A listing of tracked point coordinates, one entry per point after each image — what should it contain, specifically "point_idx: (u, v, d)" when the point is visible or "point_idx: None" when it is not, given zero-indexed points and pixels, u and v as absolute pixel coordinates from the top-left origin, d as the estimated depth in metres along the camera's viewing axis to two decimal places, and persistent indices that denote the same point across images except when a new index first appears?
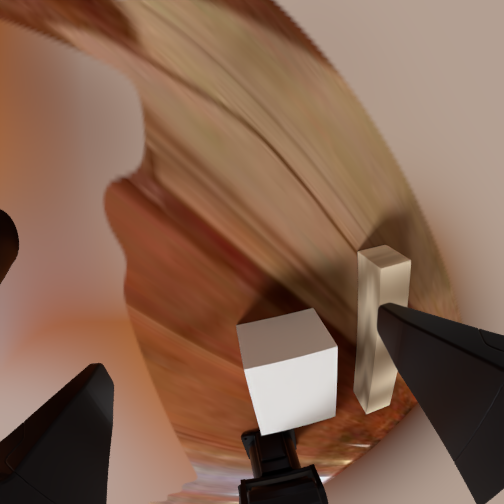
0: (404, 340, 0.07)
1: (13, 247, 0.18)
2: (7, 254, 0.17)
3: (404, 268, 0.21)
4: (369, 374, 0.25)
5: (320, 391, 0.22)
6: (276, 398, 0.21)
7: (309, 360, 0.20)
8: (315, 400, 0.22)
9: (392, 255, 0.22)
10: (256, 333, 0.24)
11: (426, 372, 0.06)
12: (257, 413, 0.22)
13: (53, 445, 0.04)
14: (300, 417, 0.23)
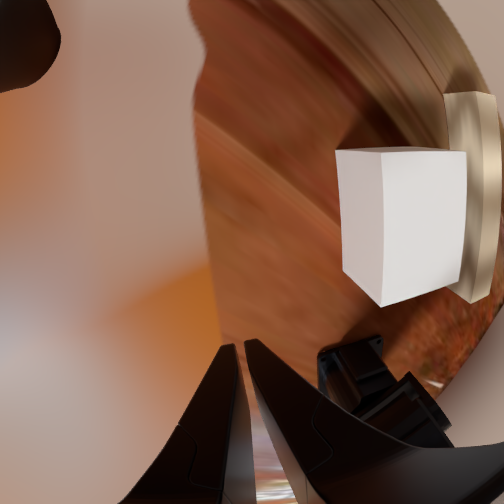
0: (253, 385, 0.07)
1: (54, 44, 0.12)
2: (49, 37, 0.11)
3: (492, 101, 0.15)
4: (476, 237, 0.19)
5: (451, 222, 0.15)
6: (410, 222, 0.15)
7: (444, 162, 0.14)
8: (446, 239, 0.16)
9: None
10: (368, 149, 0.17)
11: (269, 427, 0.06)
12: (385, 251, 0.15)
13: None
14: (428, 272, 0.16)
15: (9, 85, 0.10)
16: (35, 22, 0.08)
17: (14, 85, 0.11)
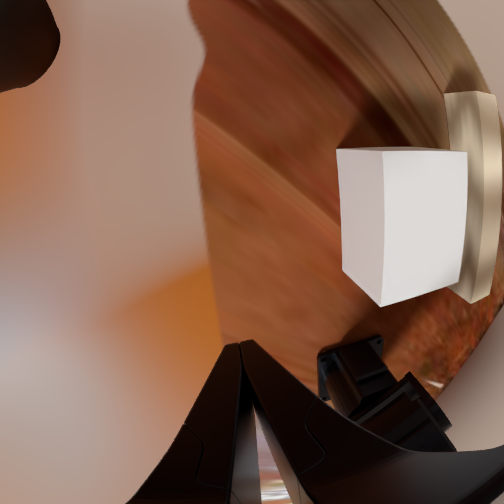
0: (249, 386, 0.07)
1: (53, 44, 0.12)
2: (48, 37, 0.11)
3: (492, 101, 0.15)
4: (476, 237, 0.19)
5: (452, 222, 0.15)
6: (411, 222, 0.15)
7: (445, 161, 0.14)
8: (447, 240, 0.16)
9: None
10: (369, 148, 0.17)
11: (263, 428, 0.06)
12: (386, 251, 0.15)
13: None
14: (428, 272, 0.16)
15: (8, 85, 0.10)
16: (34, 21, 0.08)
17: (13, 85, 0.11)
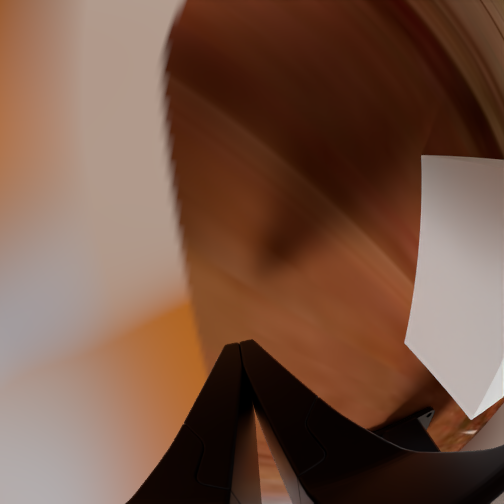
0: (248, 386, 0.07)
1: None
2: None
3: None
4: None
5: None
6: None
7: None
8: None
9: None
10: (476, 160, 0.08)
11: (263, 428, 0.06)
12: None
13: None
14: None
15: None
16: None
17: None
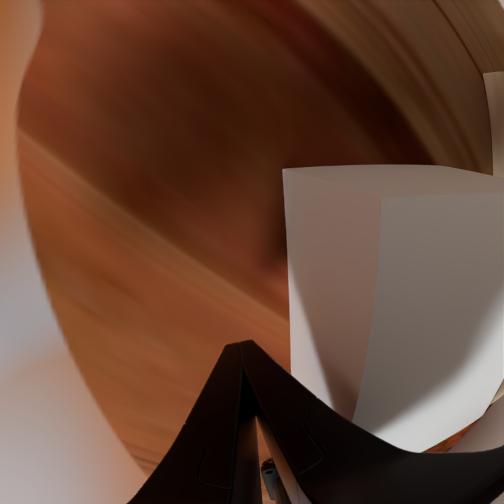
0: (248, 387, 0.07)
1: None
2: None
3: None
4: None
5: None
6: (428, 371, 0.05)
7: None
8: (487, 372, 0.06)
9: None
10: (351, 170, 0.08)
11: (262, 428, 0.06)
12: None
13: None
14: (438, 428, 0.07)
15: None
16: None
17: None
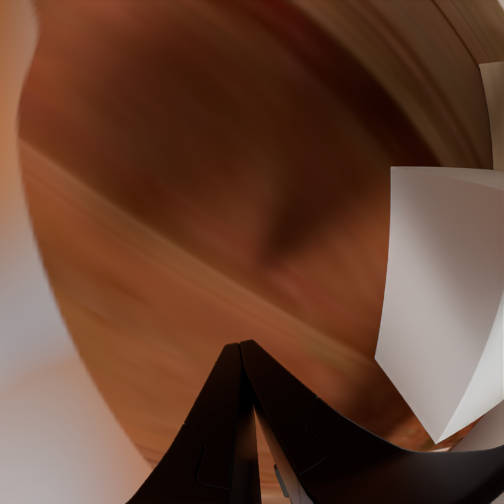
0: (249, 386, 0.07)
1: None
2: None
3: None
4: None
5: None
6: None
7: None
8: None
9: None
10: (451, 172, 0.08)
11: (263, 428, 0.06)
12: (474, 377, 0.06)
13: None
14: None
15: None
16: None
17: None
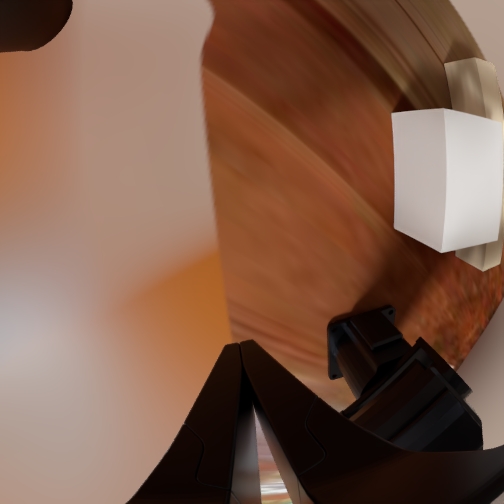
0: (249, 386, 0.07)
1: (66, 8, 0.11)
2: None
3: (491, 69, 0.14)
4: None
5: (493, 182, 0.15)
6: (465, 174, 0.14)
7: (487, 127, 0.13)
8: (490, 196, 0.15)
9: None
10: None
11: (263, 428, 0.06)
12: (447, 197, 0.15)
13: None
14: (477, 225, 0.16)
15: (21, 41, 0.10)
16: None
17: (25, 42, 0.10)
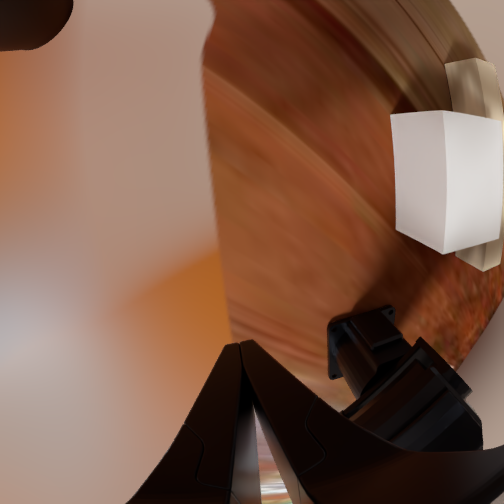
0: (249, 386, 0.07)
1: (67, 7, 0.11)
2: None
3: (492, 69, 0.14)
4: None
5: (493, 181, 0.15)
6: (465, 175, 0.14)
7: (486, 126, 0.13)
8: (490, 196, 0.15)
9: None
10: None
11: (263, 428, 0.06)
12: (448, 199, 0.15)
13: None
14: (478, 225, 0.16)
15: (21, 40, 0.10)
16: None
17: (26, 41, 0.10)
